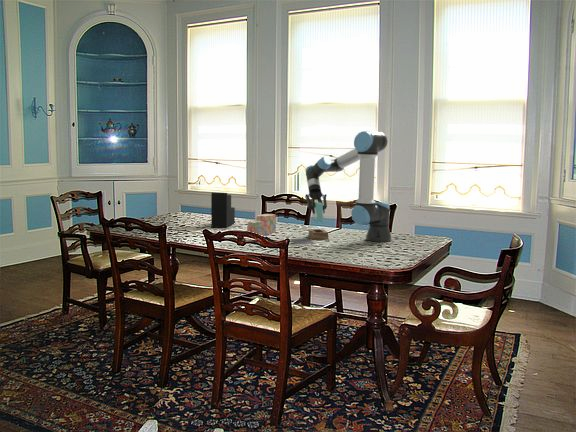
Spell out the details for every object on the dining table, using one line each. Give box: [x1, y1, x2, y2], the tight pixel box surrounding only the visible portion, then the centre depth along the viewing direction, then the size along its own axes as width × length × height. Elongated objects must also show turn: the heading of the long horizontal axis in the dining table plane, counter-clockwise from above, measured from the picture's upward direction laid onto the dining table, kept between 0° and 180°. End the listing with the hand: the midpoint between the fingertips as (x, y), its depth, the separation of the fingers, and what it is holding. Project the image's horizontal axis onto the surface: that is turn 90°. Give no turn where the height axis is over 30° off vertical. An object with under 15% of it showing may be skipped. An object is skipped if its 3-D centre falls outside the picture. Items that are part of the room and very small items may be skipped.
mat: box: [289, 238, 316, 245], centre depth 342 cm, size 16×12×1 cm
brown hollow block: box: [307, 228, 330, 241], centre depth 354 cm, size 13×10×4 cm
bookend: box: [210, 192, 236, 229], centre depth 397 cm, size 23×11×24 cm, turn 170°
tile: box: [313, 201, 324, 223], centre depth 353 cm, size 8×4×11 cm, turn 10°
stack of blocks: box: [246, 213, 277, 237], centre depth 363 cm, size 21×6×12 cm, turn 145°
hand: (319, 217), depth 350 cm, fingers closed on tile, 3 cm apart
